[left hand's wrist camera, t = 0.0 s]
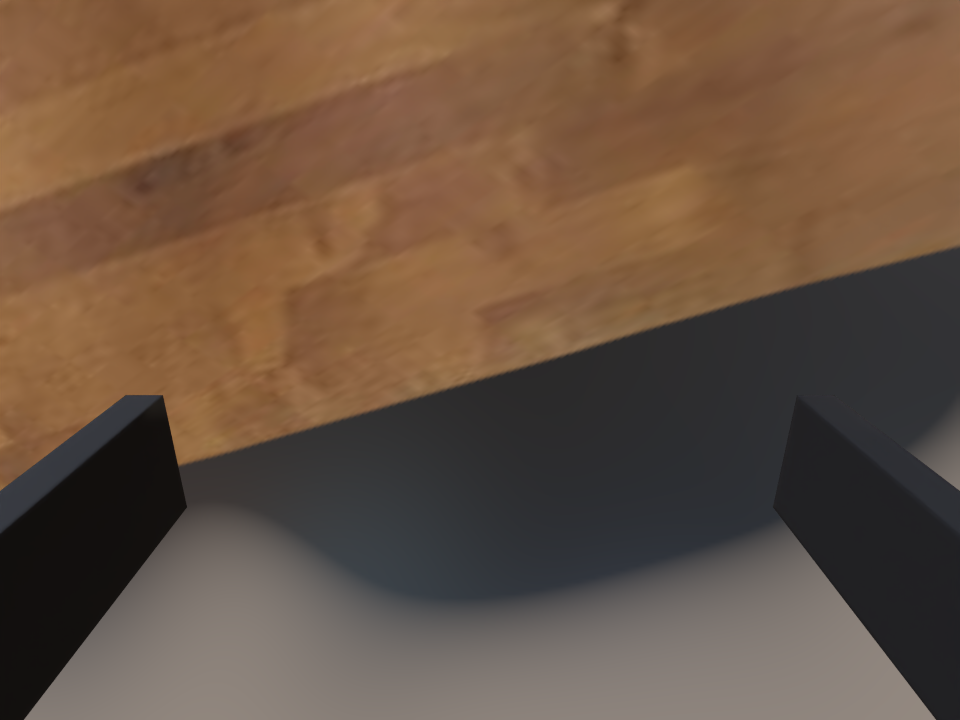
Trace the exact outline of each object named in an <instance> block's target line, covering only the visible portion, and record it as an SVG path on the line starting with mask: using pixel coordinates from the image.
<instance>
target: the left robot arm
mask: <svg viewBox="0 0 960 720" xmlns="http://www.w3.org/2000/svg"><path fill="white" fill-rule="evenodd" d="M186 508H187V505H186V501H185V496H184V492H183V487H182V482H181V478H180V473H179V468H178V464H177V459H176V454H175V450H174V445H173V440H172V436H171V431H170V426H169V422H168V417H167V412H166V408H165V403H164V398H163V395H126V396H124V397H123V398H122V399H120V400H119V401H118V402H116V403H115V404H114V405H112V406H111V407H110V408H109V409H107V410H106V411H105V412H103V413H102V414H101V415H99V416H98V417H97V418H95V419H94V420H93V421H91V422H90V423H89V424H88V425H86V426H85V427H84V428H82V429H81V430H80V431H78V432H77V433H76V434H74V435H73V436H72V437H70V438H69V439H68V440H67V441H65V442H64V443H63V444H61V445H60V446H59V447H57V448H56V449H55V450H53V451H52V452H51V453H49V454H48V455H47V456H46V457H44V458H43V459H42V460H40V461H39V462H38V463H36V464H35V465H34V466H32V467H31V468H30V469H28V470H27V471H26V472H25V473H23V474H22V475H21V476H19V477H18V478H17V479H15V480H14V481H13V482H11V483H10V484H9V485H8V486H6V487H5V488H4V489H2V490H1V491H0V720H24V719H25V717H26V716H27V715H28V714H29V712H30V711H31V710H32V708H33V707H34V706H35V704H36V703H37V702H38V701H39V699H40V698H41V697H42V695H43V694H44V693H45V691H46V690H47V689H48V687H49V686H50V685H51V684H52V682H53V681H54V680H55V678H56V677H57V676H58V674H59V673H60V672H61V671H62V669H63V668H64V667H65V665H66V664H67V663H68V661H69V660H70V659H71V658H72V656H73V655H74V654H75V652H76V651H77V650H78V648H79V647H80V646H81V645H82V643H83V642H84V641H85V639H86V638H87V637H88V635H89V634H90V633H91V631H92V630H93V629H94V628H95V626H96V625H97V624H98V622H99V621H100V620H101V618H102V617H103V616H104V615H105V613H106V612H107V611H108V609H109V608H110V607H111V605H112V604H113V603H114V602H115V600H116V599H117V598H118V596H119V595H120V594H121V592H122V591H123V590H124V588H125V587H126V586H127V585H128V583H129V582H130V581H131V579H132V578H133V577H134V575H135V574H136V573H137V572H138V570H139V569H140V568H141V566H142V565H143V564H144V562H145V561H146V560H147V558H148V557H149V556H150V555H151V553H152V552H153V551H154V549H155V548H156V547H157V545H158V544H159V543H160V542H161V540H162V539H163V538H164V536H165V535H166V534H167V532H168V531H169V530H170V529H171V527H172V526H173V525H174V523H175V522H176V521H177V519H178V518H179V517H180V516H181V514H182V513H183V512H184V510H185V509H186ZM773 508H774V509H775V510H776V512H777V513H778V514H779V516H780V517H781V518H782V519H783V521H784V522H785V523H786V525H787V526H788V527H789V529H790V530H791V531H792V532H793V534H794V535H795V536H796V538H797V539H798V540H799V542H800V543H801V544H802V545H803V547H804V548H805V549H806V551H807V552H808V553H809V555H810V556H811V557H812V559H813V560H814V561H815V562H816V564H817V565H818V566H819V568H820V569H821V570H822V572H823V573H824V574H825V575H826V577H827V578H828V579H829V581H830V582H831V583H832V585H833V586H834V587H835V588H836V590H837V591H838V592H839V594H840V595H841V596H842V598H843V599H844V600H845V602H846V603H847V604H848V605H849V607H850V608H851V609H852V611H853V612H854V613H855V615H856V616H857V617H858V618H859V620H860V621H861V622H862V624H863V625H864V626H865V628H866V629H867V630H868V631H869V633H870V634H871V635H872V637H873V638H874V639H875V640H876V642H877V643H878V644H879V646H880V647H881V648H882V650H883V651H884V652H885V654H886V655H887V656H888V658H889V659H890V660H891V661H892V663H893V664H894V665H895V667H896V668H897V669H898V671H899V672H900V673H901V674H902V676H903V677H904V678H905V680H906V681H907V682H908V684H909V685H910V686H911V688H912V689H913V690H914V691H915V693H916V694H917V695H918V697H919V698H920V699H921V700H922V702H923V703H924V704H925V706H926V707H927V708H928V710H929V711H930V712H931V713H932V715H933V716H934V717H935V719H936V720H960V491H959V490H958V489H956V488H955V487H954V486H952V485H951V484H950V483H949V482H947V481H946V480H945V479H943V478H942V477H941V476H939V475H938V474H937V473H935V472H934V471H933V470H931V469H930V468H929V467H928V466H926V465H925V464H924V463H922V462H921V461H920V460H918V459H917V458H916V457H914V456H913V455H912V454H910V453H909V452H908V451H907V450H905V449H904V448H903V447H901V446H900V445H899V444H897V443H896V442H895V441H893V440H892V439H891V438H889V437H888V436H887V435H886V434H884V433H883V432H882V431H880V430H879V429H878V428H876V427H875V426H874V425H872V424H871V423H870V422H869V421H867V420H866V419H865V418H863V417H862V416H861V415H859V414H858V413H857V412H855V411H854V410H853V409H851V408H850V407H849V406H848V405H846V404H845V403H844V402H842V401H841V400H840V399H838V398H837V397H836V396H834V395H798V396H797V398H796V403H795V408H794V413H793V417H792V422H791V426H790V431H789V436H788V440H787V445H786V450H785V454H784V459H783V464H782V468H781V473H780V478H779V482H778V487H777V492H776V496H775V501H774V506H773Z"/></svg>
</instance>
